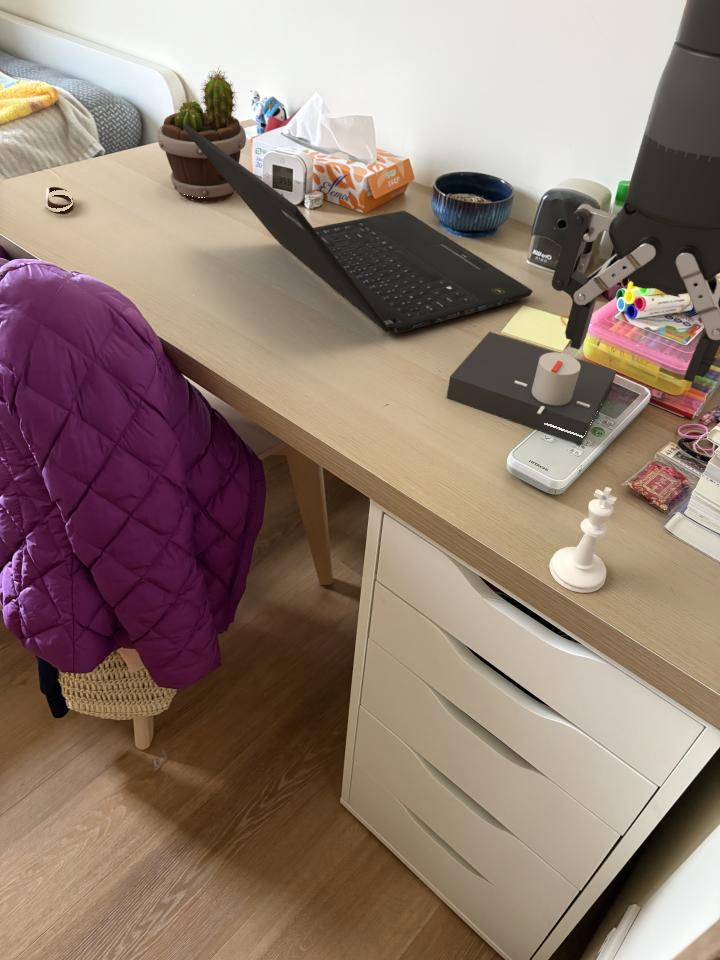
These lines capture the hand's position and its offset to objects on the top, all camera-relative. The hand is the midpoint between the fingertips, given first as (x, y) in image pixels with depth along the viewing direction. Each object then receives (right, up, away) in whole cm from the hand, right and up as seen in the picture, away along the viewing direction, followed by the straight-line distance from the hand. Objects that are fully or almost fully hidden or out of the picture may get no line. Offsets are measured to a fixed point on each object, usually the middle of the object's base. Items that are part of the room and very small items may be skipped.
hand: (632, 359), depth 55 cm
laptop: (-21, +20, +50) cm, 57 cm away
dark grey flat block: (-1, +1, +30) cm, 30 cm away
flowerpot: (-48, +42, +72) cm, 96 cm away
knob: (0, 0, +24) cm, 24 cm away
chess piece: (-1, -17, +9) cm, 20 cm away
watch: (-70, +36, +64) cm, 102 cm away
